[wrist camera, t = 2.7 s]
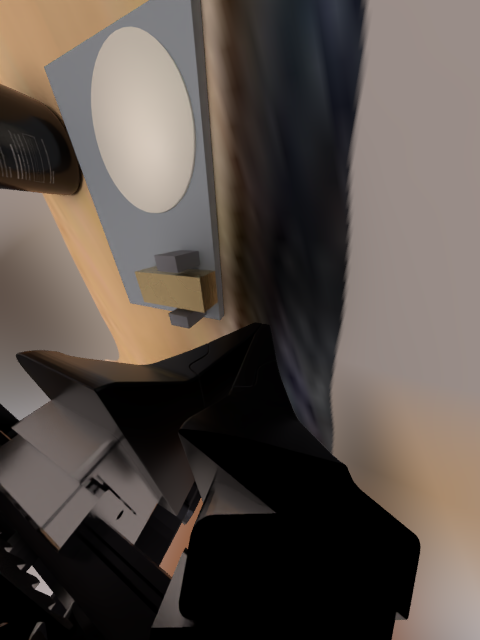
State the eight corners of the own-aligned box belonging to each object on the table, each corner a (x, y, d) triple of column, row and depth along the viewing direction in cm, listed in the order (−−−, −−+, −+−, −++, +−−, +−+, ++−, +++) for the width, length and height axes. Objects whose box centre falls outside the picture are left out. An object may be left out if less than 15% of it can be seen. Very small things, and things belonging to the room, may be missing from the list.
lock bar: (217, 302, 16) (204, 312, 14) (162, 293, 19) (144, 302, 17) (215, 270, 15) (199, 277, 13) (155, 266, 17) (134, 271, 15)
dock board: (224, 315, 18) (203, 335, 15) (137, 300, 23) (106, 313, 19) (200, -3, 9) (133, -129, 6) (60, 76, 13) (-22, 29, 10)
